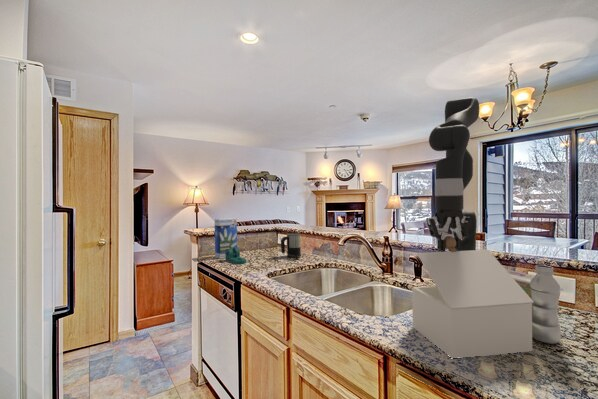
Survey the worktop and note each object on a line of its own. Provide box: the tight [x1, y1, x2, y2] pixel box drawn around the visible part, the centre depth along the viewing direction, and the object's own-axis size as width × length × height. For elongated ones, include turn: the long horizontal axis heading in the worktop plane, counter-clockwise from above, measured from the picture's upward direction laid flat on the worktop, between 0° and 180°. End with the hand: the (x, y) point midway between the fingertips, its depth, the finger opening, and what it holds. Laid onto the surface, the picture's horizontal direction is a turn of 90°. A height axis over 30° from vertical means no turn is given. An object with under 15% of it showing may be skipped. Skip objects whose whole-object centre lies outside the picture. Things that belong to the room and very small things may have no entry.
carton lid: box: [416, 235, 534, 310], centre depth 81 cm, size 23×22×4 cm
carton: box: [411, 285, 533, 359], centre depth 81 cm, size 18×22×12 cm
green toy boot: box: [225, 247, 247, 265], centre depth 184 cm, size 18×7×8 cm, turn 38°
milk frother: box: [280, 233, 302, 260], centre depth 194 cm, size 14×16×15 cm
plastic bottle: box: [529, 264, 562, 345], centre depth 79 cm, size 6×7×20 cm
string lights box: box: [214, 217, 238, 259], centre depth 200 cm, size 13×8×26 cm, turn 130°
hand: (449, 251), depth 88 cm, fingers closed on carton lid, 4 cm apart
